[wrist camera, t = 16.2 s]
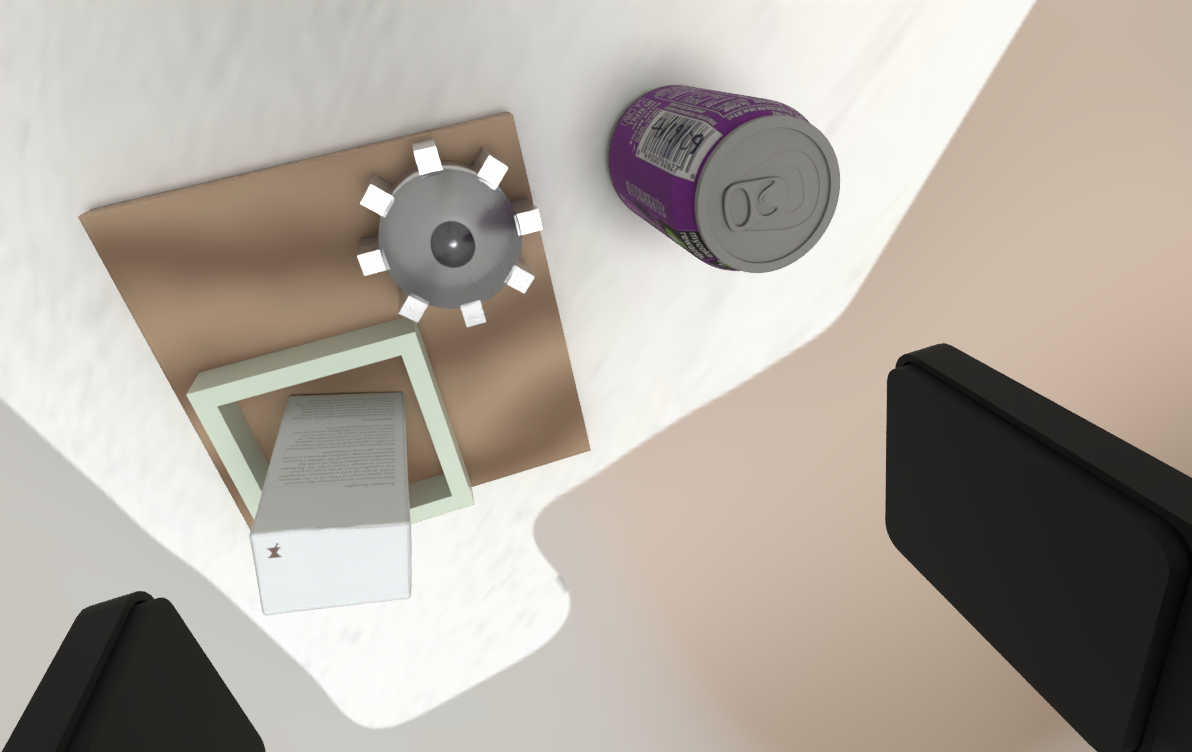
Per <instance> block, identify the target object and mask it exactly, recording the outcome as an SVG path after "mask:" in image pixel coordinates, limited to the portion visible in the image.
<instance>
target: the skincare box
mask: <svg viewBox="0 0 1192 752" xmlns="http://www.w3.org/2000/svg"><path fill="white" fill-rule="evenodd" d="M250 541H251V547H252V552H253V558H254V563H255V569H256V575H257V581H258V587H259V593H260V599H261V605H262V611H263V614H264V615H273V614H281V613H288V612H297V611H306V610H314V609H322V608H331V607H340V606H349V605H357V604H365V603H374V602H383V601H392V600H401V599H409V598H410V597H411V519H410V505H409V490H408V469H407V448H406V424H405V400H404V395H403V393H401V392H396V393H368V394H337V395H307V396H289V397H288V400H287V403H286V407H285V410H284V414H283V418H282V421H281V425H280V429H279V433H278V436H277V439H276V443H275V446H274V450H273V453H272V457H271V461H270V465H269V468H268V472H267V476H266V479H265V483H264V486H263V490H262V494H261V498H260V501H259V505H258V509H257V513H256V516H255V519H254V522H253V526H252V529H251V532H250Z"/></svg>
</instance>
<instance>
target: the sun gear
mask: <svg viewBox="0 0 1192 752" xmlns="http://www.w3.org/2000/svg"><path fill="white" fill-rule="evenodd" d="M412 146H413V152H414V156H415V159H416V162H417V166H415V167H413V168H411V169H410V170H408V171H407V172H405V173H404V174H403V175H401V176H400V177H399V178H398V179H397V180H396V181H395V183H394V184H391V183H390V182H388V181H386V180H384V179H383V178H381V177H379V176H377V175H376V174H374V173H372V175H371V177H370V179H369V181H368V183H367V184H366V186H365V188H364V190H363V193H362V198H361V202H360V204H361V205H363V206H365V207H367V208H369V209H371V210H372V211H374V212H376V213H378V214H380V223H379V235H375V236H371V237H367V238H363V239H360V241H359V247H358V252H357V257H358V260H359V263H360V266H361V268H362V271H363V274H364V276H366V275H370V274H374V273H378V272H382V271H385V270H387V272H388V273H389V275H390V277H391V278H392V279H393V281H394V282H395V283H396V284H397V285H398V286H399V287H400V288H401V290H400V292H399V314H401V315H403V316H405V317H407V318H409V319H411V320H413V321H415V322H417V323H418V322H419V320H420V318H421V316H422V315H423V313H424V311H425V310H426V308H427V306H428V305H430V306H433V307H438V308H444V309H459V308H461V310H462V313H463V317H464V320H465V323H466V327H470V326H474V325H477V324H481V323H485V322H486V319H485V316H484V312H483V309H482V305H481V303H482V302H484V301H486V300H488V299H489V298H491V297H492V296H494V295H495V294H497V293H498V292H499V291H500V290H501V289H502V288H503V287H504V286H505V285H506V284H508V285H509V286H511V287H513V288H515V289H517V290H518V291H520V292H522V293H524V294H525V292H526V290H527V289H528V287H529V286H530V284H531V282H532V281H533V279H534V277H535V276H534V274H533V273H532V271H531V269H530V268H529V266H528V264H527V262H526V261H525V260H524V259H522V258H521V257H520V255H521V250H522V235H524V234H528V233H531V232H535V231H539V230H543V228H542V224H541V220H540V215H539V211H538V209H537V207H536V206H535V205H534V204H533V203H532V201H531V200H530V199H529V198H528V197H525V198H521V199H517V200H513V201H509V200H508V198H507V197H506V195H505V194H504V193H503V191H502V190H501V188H500V187H499V186H498V184H499V182H500V181H501V179H502V177H503V176H504V174H505V172H506V170H507V169H508V167H507V165H506V164H505V163H504V162H503V161H502V160H501V159H500V158H499V157H498V156H496V155H495V154H493V153H491V152H490V151H488V150H487V149H485V148H484V147H482V148H481V149H480V151H479V153H478V155H477V156H476V158H475V160H474V162H473V163H472V165H469V164H467V163H464V162H460V161H455V160H440V159H439V156H438V153H437V149H436V146H435V143H434V140H433V138H430V139H426V140H422V141H418V142H413V143H412Z"/></svg>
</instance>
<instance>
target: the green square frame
mask: <svg viewBox="0 0 1192 752" xmlns="http://www.w3.org/2000/svg"><path fill="white" fill-rule="evenodd" d="M400 355H402V358H403V361H404V364H405V366H406V369H407V372H408V375H409V378H410V380H411V383H412V386H413V389H414V391H415V394H416V397H417V400H418V402H419V405H420V408H421V411H422V414H423V416H424V419H425V422H426V425H427V427H428V430H429V433H430V436H431V438H432V441H433V444H434V447H435V450H436V452H437V455H438V458H439V461H440V463H441V466H442V469H443V472H444V474H441V475H437V476H434V477H431V478H428V479H424V480H421V481H418V482H414V483H411V484H408V490H409V505H410V519H411V524H413V523H416V522H420V521H423V520H426V519H429V518H432V517H436V516H439V515H442V514H445V513H448V512H452V511H455V510H458V509H461V508H464V507H468V506H471V505H474V499H473V493H472V487H471V481H470V478H469V475H468V472H467V469H466V466H465V463H464V460H463V457H462V454H461V451H460V448H459V445H458V443H457V440H456V437H455V434H454V431H453V428H452V425H451V422H450V419H449V416H448V413H447V410H446V407H445V404H444V401H443V399H442V396H441V393H440V390H439V387H438V384H437V381H436V378H435V375H434V372H433V369H432V366H431V363H430V360H429V357H428V354H427V352H426V349H425V346H424V343H423V340H422V337H421V334H420V331H419V328H418V325H417V322H415V321H413V320H411V319H409V318H407V317H403V318H400V319H396V320H392V321H388V322H385V323H381V324H377V325H374V326H370V327H366V328H363V329H359V330H355V331H352V332H348V333H344V334H340V335H337V336H333V337H329V338H326V339H322V340H318V341H315V342H311V343H307V344H303V345H300V346H296V347H292V348H289V349H285V350H281V351H278V352H274V353H270V354H266V355H263V356H259V357H255V358H252V359H248V360H244V361H241V362H237V363H233V364H230V365H226V366H222V367H218V368H215V369H211V370H207V371H204V372H200V373H199V374H198V376H197V377H196V379H195V381H194V382H193V384H192V386H191V387H190V389H189V391H188V392H187V394H186V395H187V397H188V399H189V401H190V403H191V405H192V406H193V408H194V410H195V412H196V414H197V416H198V418H199V419H200V421H201V423H202V425H203V427H204V429H205V430H206V432H207V434H208V436H209V438H210V440H211V441H212V443H213V445H214V447H215V449H216V451H217V453H218V454H219V456H220V458H221V460H222V462H223V464H224V465H225V467H226V469H227V471H228V473H229V475H230V477H231V478H232V480H233V482H234V484H235V486H236V488H237V489H238V491H239V493H240V495H241V497H242V499H243V500H244V502H245V504H246V506H247V508H248V510H249V512H250V513H251V515H252V517H253V519H255V516H256V513H257V509H258V505H259V501H260V498H261V494H262V490H263V486H264V483H265V479H266V476H267V472H268V468H269V464H268V462H267V460H266V458H265V456H264V454H263V452H262V450H261V449H260V447H259V445H258V443H257V441H256V439H255V437H254V435H253V433H252V431H251V429H250V427H249V425H248V423H247V421H246V419H245V417H244V415H243V413H242V411H241V409H240V407H239V405H238V403H237V401H238V400H242V399H246V398H249V397H253V396H256V395H260V394H264V393H267V392H271V391H274V390H278V389H282V388H285V387H289V386H292V385H296V384H300V383H303V382H307V381H310V380H314V379H318V378H321V377H325V376H328V375H332V374H336V373H339V372H343V371H346V370H350V369H354V368H357V367H361V366H364V365H368V364H372V363H375V362H379V361H382V360H386V359H390V358H393V357H397V356H400Z"/></svg>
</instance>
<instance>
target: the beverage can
mask: <svg viewBox="0 0 1192 752" xmlns="http://www.w3.org/2000/svg"><path fill="white" fill-rule="evenodd" d="M609 168H610V174H611V179H612V182H613V185H614V187H615V190H616V192H617V194H618V195H619V197H620V198H621V200H622V201H623V202H624V204H625V205H626V206H627V207H628V208H629V209H630V210H631V211H633V212H634V213H635V214H637V215H638V216H640V217H641V218H642V219H644V220H645V221H647V222H648V223H649V224H651V225H652V226H654V227H655V228H656V229H658V230H659V231H660V232H662V233H663V234H665V235H666V236H667V237H669V238H670V239H672V240H673V241H674V242H676V243H677V244H679V245H680V246H681V247H683V248H684V249H685V250H687V251H688V252H690V253H691V254H692V255H694V256H695V257H697V258H698V259H700V260H701V261H703V262H705V263H706V264H708V265H711V266H713V267H716V268H719V269H723V270H730V271H744V272H750V273H764V272H770V271H775V270H778V269H781V268H783V267H786V266H788V265H790V264H792V263H793V262H795V261H797V260H798V259H800V258H801V257H802V256H804V255H805V254H806V253H807V252H808V251H809V250H810V249H811V248H812V247H813V246H814V245H815V244H816V243H817V242H818V241H819V239H820V238H821V237H822V235H823V234H824V232H825V231H826V229H827V227H828V226H829V224H830V222H831V219H832V217H833V215H834V212H835V209H836V206H837V202H838V197H839V190H840V172H839V166H838V161H837V158H836V155H835V152H834V150H833V148H832V146H831V144H830V143H829V141H828V140H827V138H826V137H825V136H824V135H823V134H822V133H821V132H820V131H819V130H818V129H817V128H816V127H814V126H813V125H811V124H810V123H809V121H808V120H807V119H806V118H805V117H804V116H803V115H801V114H800V113H799V112H798V111H796V110H795V109H793V108H791V107H789V106H788V105H785V104H783V103H780V102H777V101H772V100H768V99H763V98H756V97H750V96H744V95H738V94H732V93H726V92H719V91H713V90H707V89H701V88H695V87H689V86H681V85H674V86H666V87H661V88H658V89H655V90H653V91H651V92H649V93H647V94H645V95H644V96H642V97H641V98H639V99H638V100H637V101H636V102H635V103H633V104H632V105H631V106H630V107H629V109H628V110H627V111H626V112H625V113H624V115H623V116H622V118H621V120H620V121H619V123H618V125H617V127H616V129H615V132H614V134H613V137H612V141H611V145H610V152H609Z"/></svg>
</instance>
